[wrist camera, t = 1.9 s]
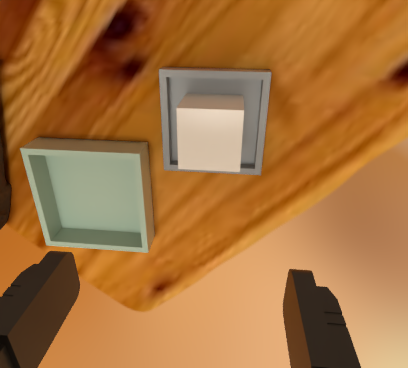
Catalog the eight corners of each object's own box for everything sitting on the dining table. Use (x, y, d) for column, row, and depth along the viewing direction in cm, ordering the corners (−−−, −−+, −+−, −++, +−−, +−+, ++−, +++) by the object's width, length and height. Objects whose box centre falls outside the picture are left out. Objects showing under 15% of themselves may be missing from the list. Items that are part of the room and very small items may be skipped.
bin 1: (60, 229, 37) (46, 245, 35) (37, 137, 32) (20, 148, 30) (154, 235, 36) (148, 252, 34) (147, 142, 31) (139, 153, 29)
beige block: (186, 146, 31) (178, 169, 26) (186, 93, 28) (176, 107, 24) (239, 149, 30) (239, 172, 26) (243, 95, 28) (244, 110, 23)
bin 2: (167, 163, 32) (163, 170, 31) (162, 66, 28) (158, 69, 27) (259, 168, 31) (260, 175, 30) (269, 69, 27) (271, 72, 26)
